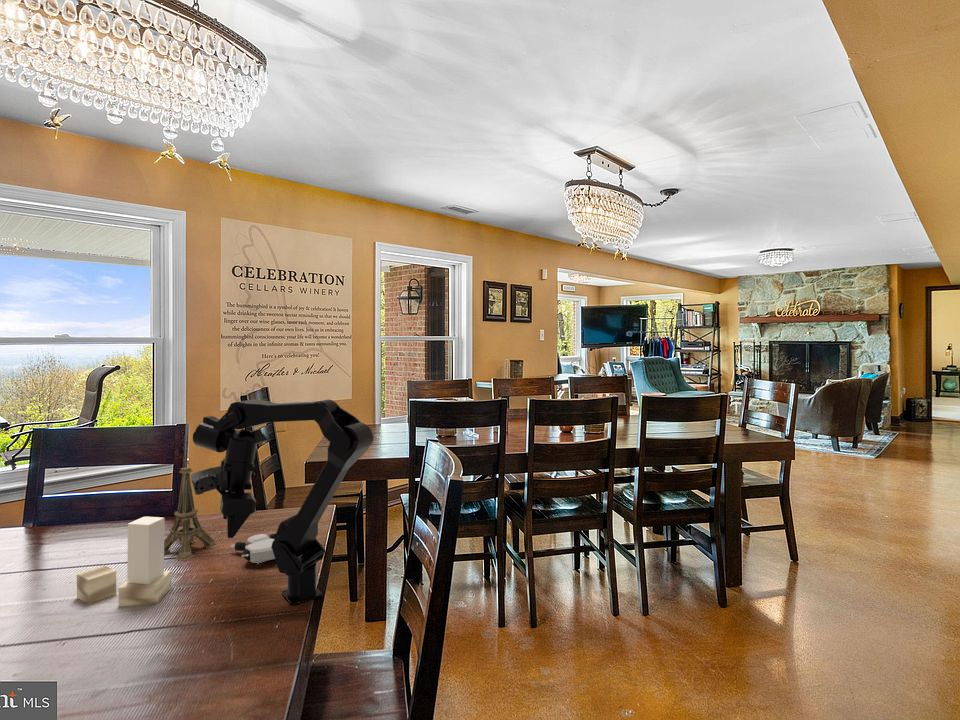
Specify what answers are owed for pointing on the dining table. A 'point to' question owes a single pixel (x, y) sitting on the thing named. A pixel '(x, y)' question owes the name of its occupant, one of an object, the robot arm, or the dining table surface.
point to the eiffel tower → (186, 521)
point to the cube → (96, 584)
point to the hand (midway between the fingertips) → (228, 527)
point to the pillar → (145, 550)
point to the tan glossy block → (144, 591)
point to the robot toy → (256, 548)
